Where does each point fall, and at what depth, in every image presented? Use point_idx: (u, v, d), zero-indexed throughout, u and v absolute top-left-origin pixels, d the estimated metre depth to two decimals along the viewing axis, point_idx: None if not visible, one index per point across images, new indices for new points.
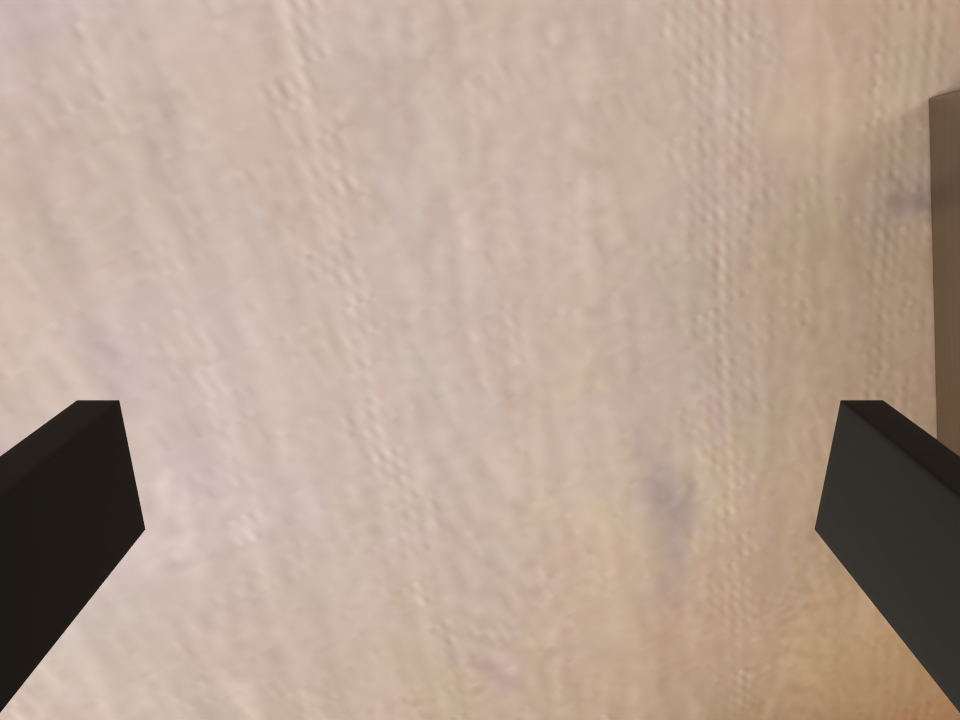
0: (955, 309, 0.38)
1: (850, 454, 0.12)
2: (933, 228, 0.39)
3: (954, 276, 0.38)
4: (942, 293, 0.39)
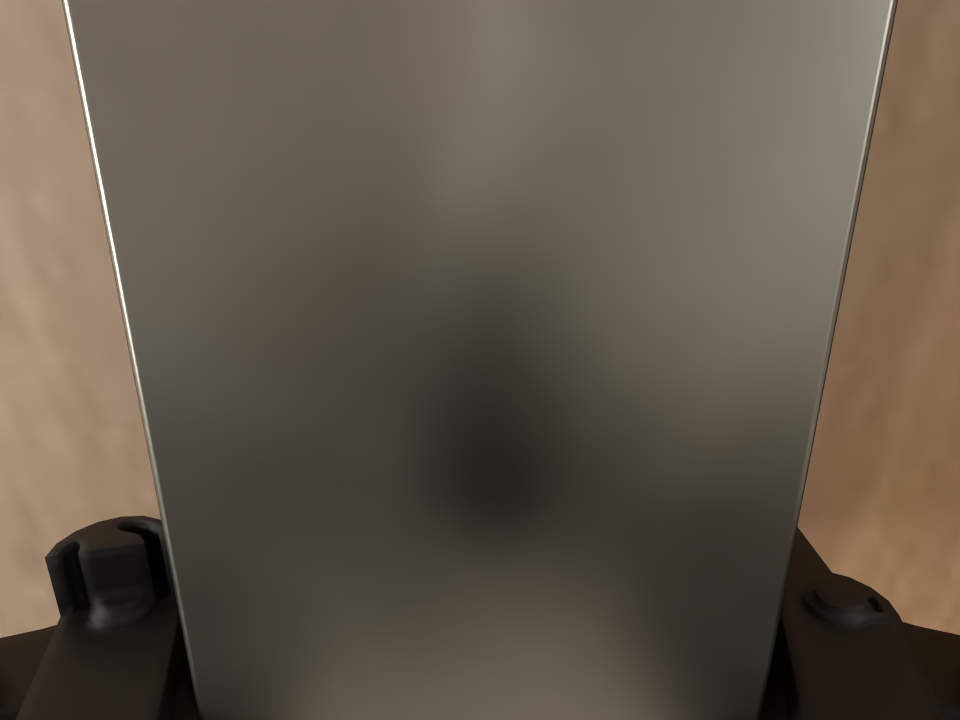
0: None
1: None
2: None
3: None
4: None
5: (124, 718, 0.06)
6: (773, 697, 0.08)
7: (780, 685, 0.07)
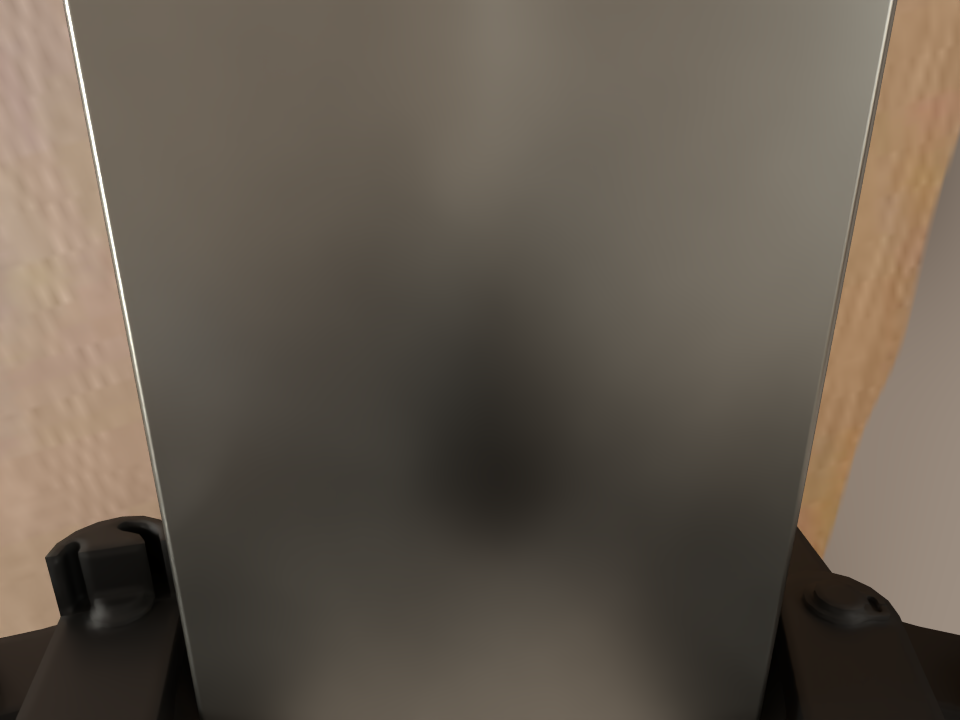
0: None
1: None
2: None
3: None
4: None
5: (124, 718, 0.06)
6: (773, 697, 0.08)
7: (780, 685, 0.07)
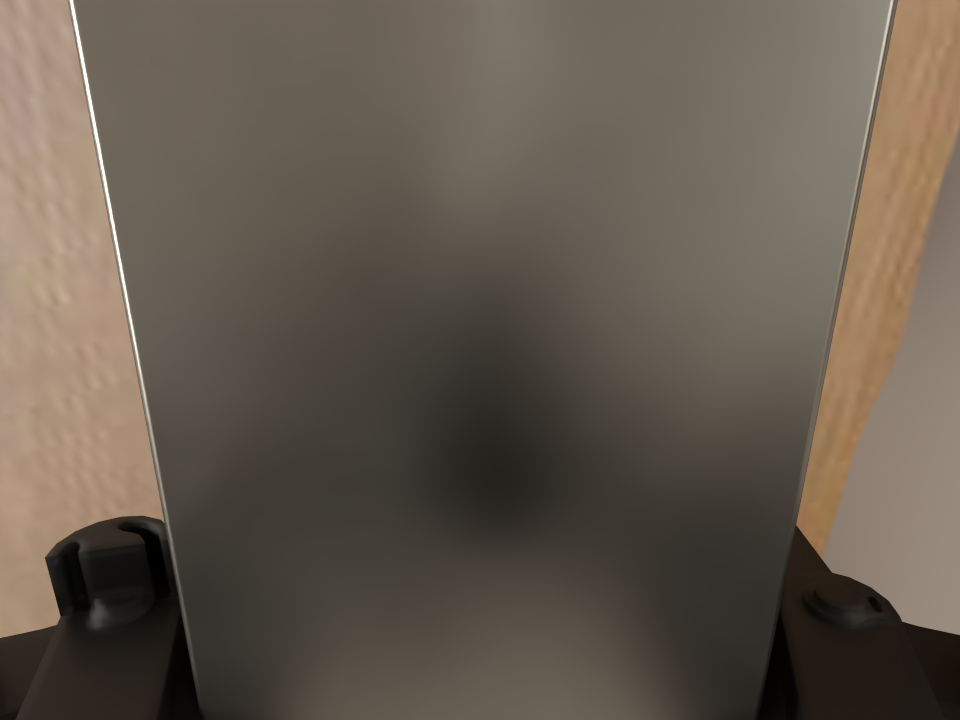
0: None
1: None
2: None
3: None
4: None
5: (124, 718, 0.06)
6: (773, 697, 0.08)
7: (780, 685, 0.07)
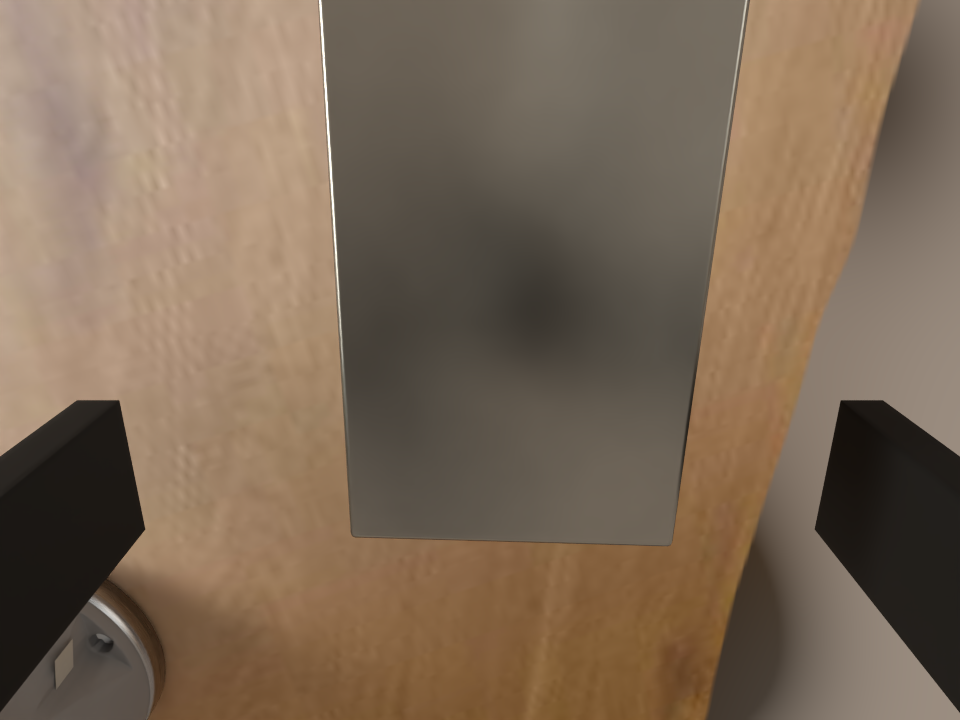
0: None
1: (850, 454, 0.12)
2: None
3: None
4: None
5: None
6: None
7: None
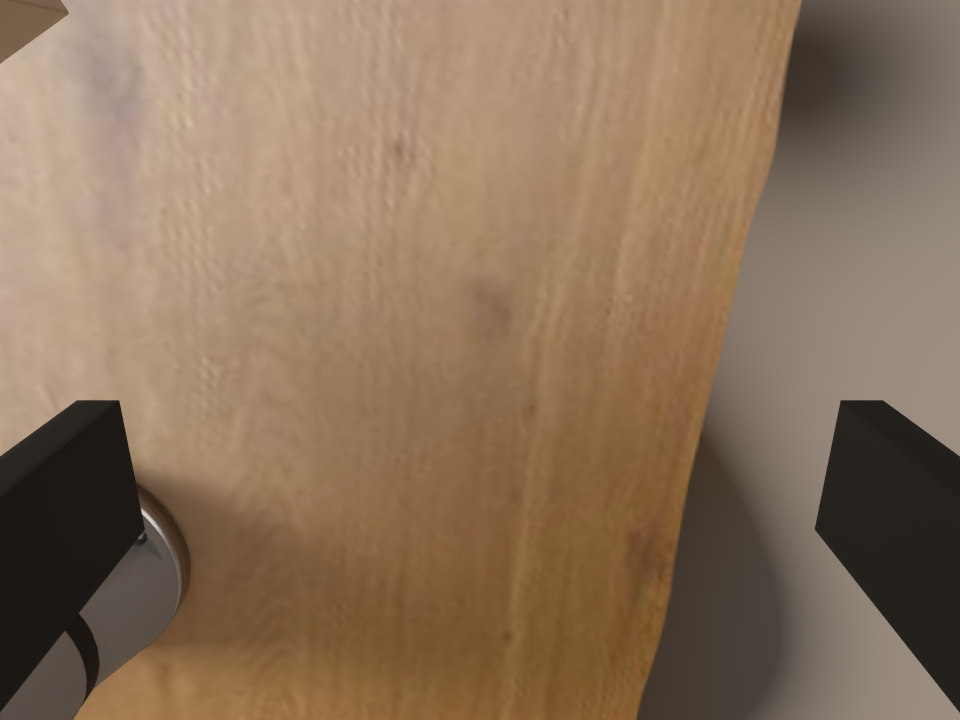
0: None
1: (850, 454, 0.12)
2: None
3: None
4: None
5: None
6: None
7: None
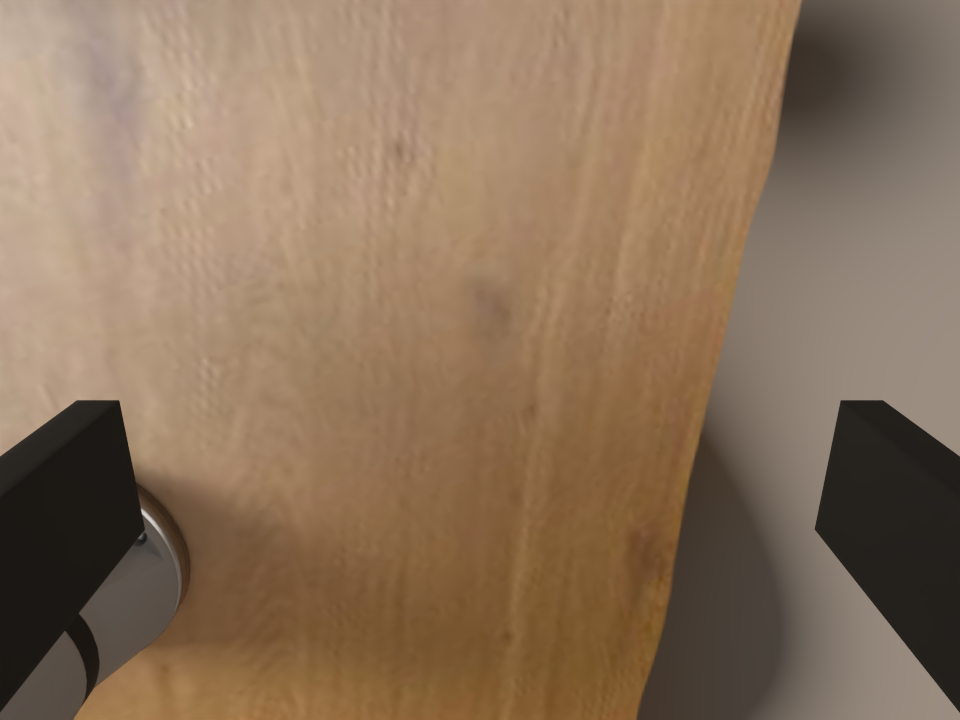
0: None
1: (850, 454, 0.12)
2: None
3: None
4: None
5: None
6: None
7: None
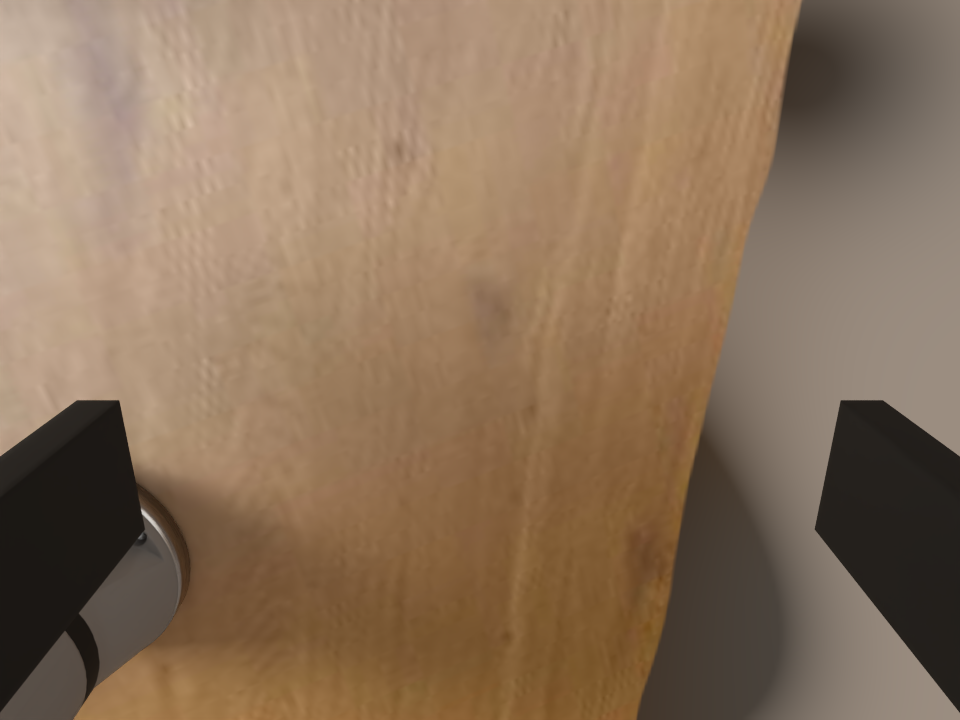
0: None
1: (850, 454, 0.12)
2: None
3: None
4: None
5: None
6: None
7: None
